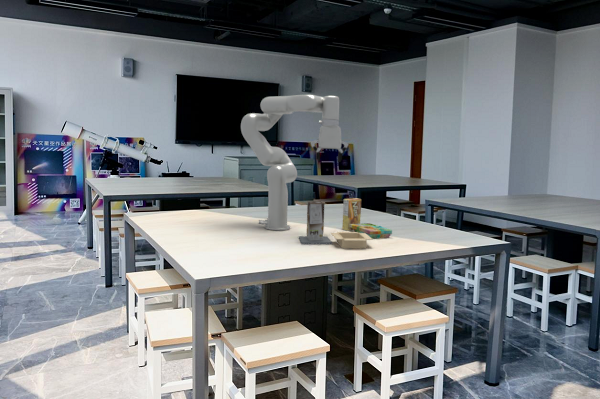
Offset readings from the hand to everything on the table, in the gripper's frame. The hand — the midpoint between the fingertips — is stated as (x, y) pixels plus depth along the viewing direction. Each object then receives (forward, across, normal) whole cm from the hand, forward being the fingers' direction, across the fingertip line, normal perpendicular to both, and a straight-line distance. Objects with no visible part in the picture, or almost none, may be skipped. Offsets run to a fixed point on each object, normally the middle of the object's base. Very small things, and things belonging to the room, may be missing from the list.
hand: (328, 161), depth 229 cm
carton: (+34, +7, -22) cm, 41 cm away
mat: (+34, -7, -15) cm, 38 cm away
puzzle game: (+35, +21, +2) cm, 41 cm away
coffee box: (+34, -7, -15) cm, 37 cm away
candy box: (+34, +15, +16) cm, 41 cm away
